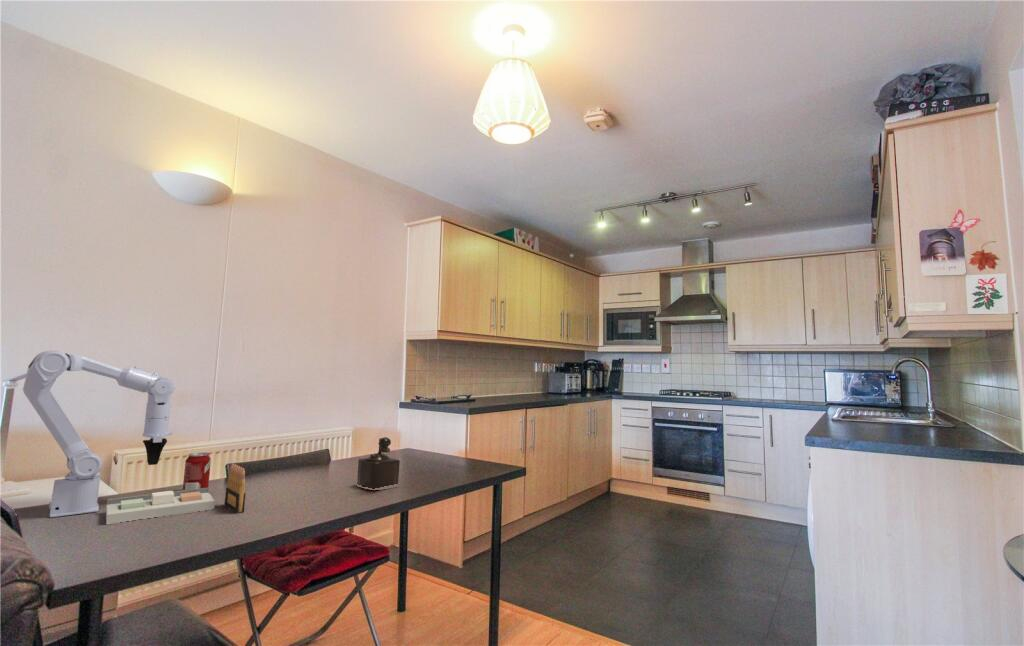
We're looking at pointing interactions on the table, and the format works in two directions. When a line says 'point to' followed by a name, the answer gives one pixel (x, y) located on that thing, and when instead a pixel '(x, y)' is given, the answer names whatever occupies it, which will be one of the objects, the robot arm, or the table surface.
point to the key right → (190, 496)
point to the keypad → (157, 507)
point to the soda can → (197, 471)
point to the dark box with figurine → (378, 468)
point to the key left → (131, 503)
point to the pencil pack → (235, 489)
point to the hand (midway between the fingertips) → (152, 464)
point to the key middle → (162, 498)
